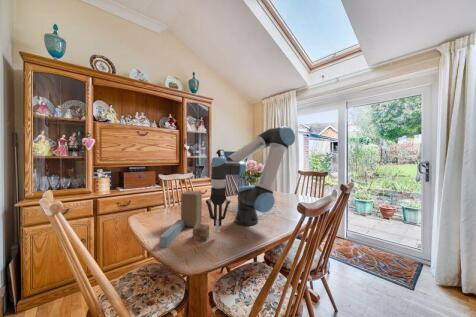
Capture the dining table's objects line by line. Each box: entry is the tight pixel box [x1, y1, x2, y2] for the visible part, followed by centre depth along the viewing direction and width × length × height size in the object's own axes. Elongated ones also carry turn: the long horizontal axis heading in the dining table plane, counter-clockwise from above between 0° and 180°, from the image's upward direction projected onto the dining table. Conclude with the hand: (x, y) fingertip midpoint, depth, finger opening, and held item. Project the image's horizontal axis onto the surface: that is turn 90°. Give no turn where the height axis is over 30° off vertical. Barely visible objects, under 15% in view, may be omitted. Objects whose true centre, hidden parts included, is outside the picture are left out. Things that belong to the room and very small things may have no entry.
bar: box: [159, 219, 185, 248], centre depth 106 cm, size 4×24×5 cm, turn 176°
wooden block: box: [180, 190, 203, 228], centre depth 125 cm, size 10×10×20 cm
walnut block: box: [192, 223, 210, 242], centre depth 105 cm, size 7×7×6 cm
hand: (217, 232), depth 104 cm, fingers closed
